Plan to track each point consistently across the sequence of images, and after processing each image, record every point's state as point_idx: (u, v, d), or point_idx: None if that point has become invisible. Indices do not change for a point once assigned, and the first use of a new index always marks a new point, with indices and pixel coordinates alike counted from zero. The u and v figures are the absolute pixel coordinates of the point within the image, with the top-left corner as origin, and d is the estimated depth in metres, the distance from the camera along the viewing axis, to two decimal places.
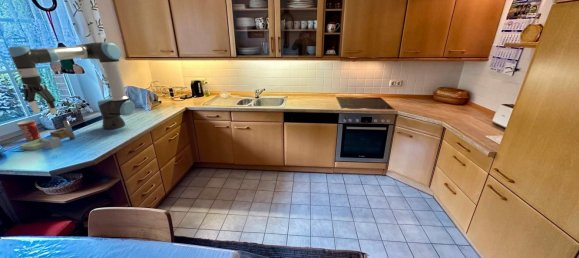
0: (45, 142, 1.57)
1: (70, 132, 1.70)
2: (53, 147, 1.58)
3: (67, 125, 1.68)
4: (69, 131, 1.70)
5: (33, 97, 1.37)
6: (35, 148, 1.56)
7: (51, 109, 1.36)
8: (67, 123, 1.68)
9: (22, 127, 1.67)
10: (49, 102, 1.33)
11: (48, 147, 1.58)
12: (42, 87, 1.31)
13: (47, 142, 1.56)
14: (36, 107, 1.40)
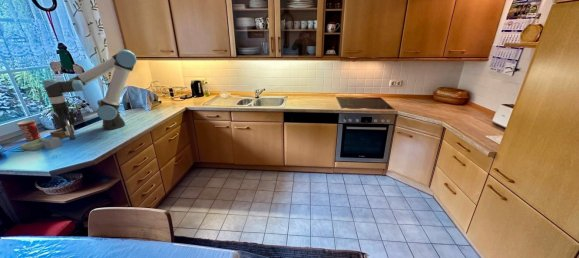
0: (45, 142, 1.57)
1: (70, 132, 1.70)
2: (53, 147, 1.58)
3: (67, 125, 1.68)
4: (69, 131, 1.70)
5: (69, 120, 1.69)
6: (35, 148, 1.56)
7: (65, 131, 1.69)
8: (67, 123, 1.68)
9: (22, 127, 1.67)
10: (61, 126, 1.66)
11: (48, 147, 1.58)
12: (52, 116, 1.60)
13: (47, 142, 1.56)
14: (72, 129, 1.72)
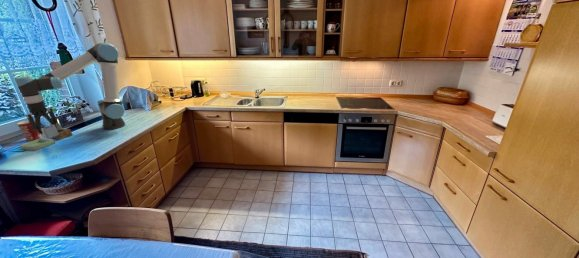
0: None
1: (60, 130, 1.74)
2: (50, 136, 1.56)
3: (57, 123, 1.72)
4: (59, 129, 1.74)
5: (49, 120, 1.57)
6: (35, 148, 1.56)
7: (41, 134, 1.54)
8: None
9: (22, 127, 1.67)
10: None
11: None
12: (27, 116, 1.47)
13: None
14: None
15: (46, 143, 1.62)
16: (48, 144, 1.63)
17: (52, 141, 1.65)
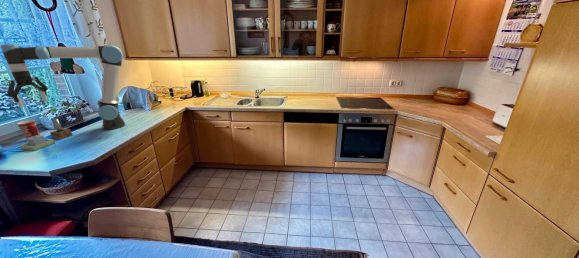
0: (29, 140, 1.58)
1: (60, 130, 1.74)
2: None
3: (57, 123, 1.72)
4: (59, 129, 1.74)
5: (39, 88, 1.57)
6: (35, 148, 1.56)
7: (17, 102, 1.48)
8: (57, 121, 1.72)
9: (22, 127, 1.67)
10: None
11: (32, 145, 1.59)
12: (9, 82, 1.44)
13: (31, 140, 1.58)
14: (44, 97, 1.60)
15: (46, 143, 1.62)
16: (48, 144, 1.63)
17: (52, 141, 1.65)
